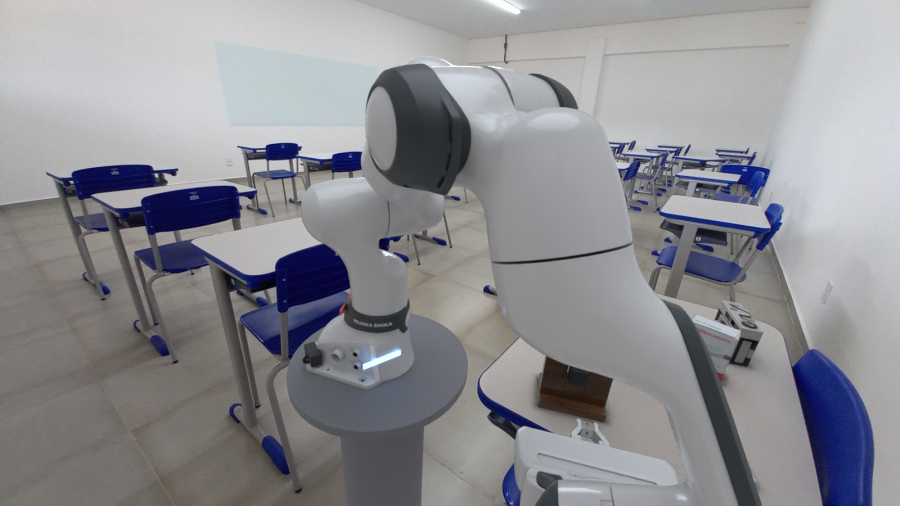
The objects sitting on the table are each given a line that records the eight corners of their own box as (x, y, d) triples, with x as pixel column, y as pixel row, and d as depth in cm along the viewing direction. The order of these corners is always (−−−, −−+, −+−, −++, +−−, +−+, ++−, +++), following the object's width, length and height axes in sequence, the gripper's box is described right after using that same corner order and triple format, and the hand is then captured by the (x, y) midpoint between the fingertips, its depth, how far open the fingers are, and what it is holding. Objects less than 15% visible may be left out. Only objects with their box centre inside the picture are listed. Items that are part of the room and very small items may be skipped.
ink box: (723, 374, 78) (743, 329, 74) (719, 385, 75) (739, 339, 71) (679, 355, 84) (695, 312, 79) (674, 364, 80) (690, 320, 76)
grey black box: (693, 327, 96) (705, 294, 92) (728, 334, 93) (742, 301, 89) (708, 357, 84) (722, 322, 80) (749, 367, 81) (766, 331, 77)
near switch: (585, 387, 63) (589, 373, 62) (568, 383, 64) (571, 370, 63) (584, 375, 66) (587, 363, 65) (567, 372, 66) (570, 359, 65)
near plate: (604, 422, 64) (621, 365, 59) (537, 406, 67) (548, 350, 62) (598, 390, 72) (613, 337, 67) (538, 377, 74) (548, 325, 69)
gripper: (708, 529, 37) (667, 425, 50) (513, 476, 41) (521, 392, 54) (689, 564, 40) (655, 456, 52) (507, 510, 44) (515, 422, 56)
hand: (585, 423), depth 53 cm, fingers closed
